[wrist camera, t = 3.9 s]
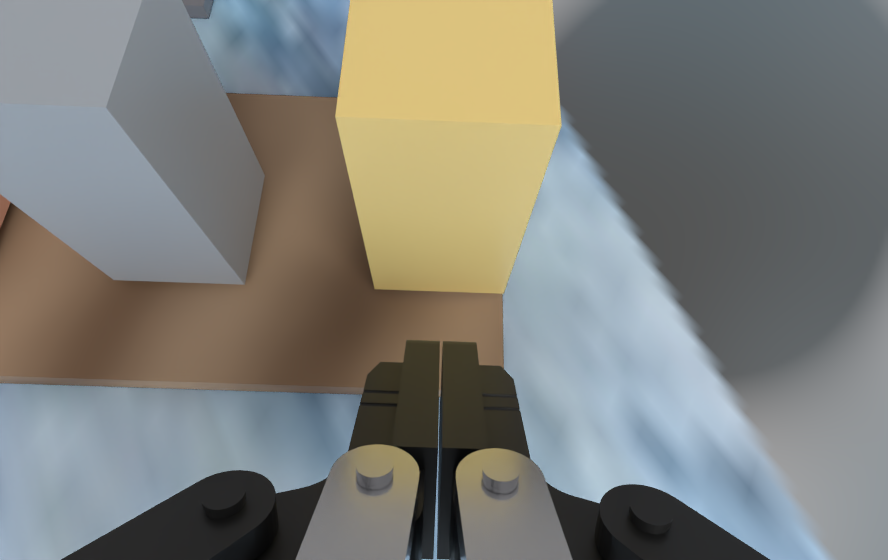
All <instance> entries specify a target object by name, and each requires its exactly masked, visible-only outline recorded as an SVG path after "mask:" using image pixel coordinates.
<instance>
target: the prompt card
mask: <svg viewBox="0 0 888 560" xmlns="http://www.w3.org/2000/svg"><path fill="white" fill-rule="evenodd" d="M182 2H183V4H184V6H185V8H186V10H187V12H188V14H189V16H190V17H192V18H209V15H210V11H211V7H212V4H213V0H182Z"/></svg>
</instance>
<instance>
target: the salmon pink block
mask: <svg viewBox="0 0 888 560" xmlns="http://www.w3.org/2000/svg"><path fill="white" fill-rule="evenodd" d="M9 205H10V201H9V200H7V199H6V198H5V197H3V196H2V195H1V194H0V228H1V225H2V223H3V220H4V218H5V215H6V213H7V210H8V208H9Z"/></svg>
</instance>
